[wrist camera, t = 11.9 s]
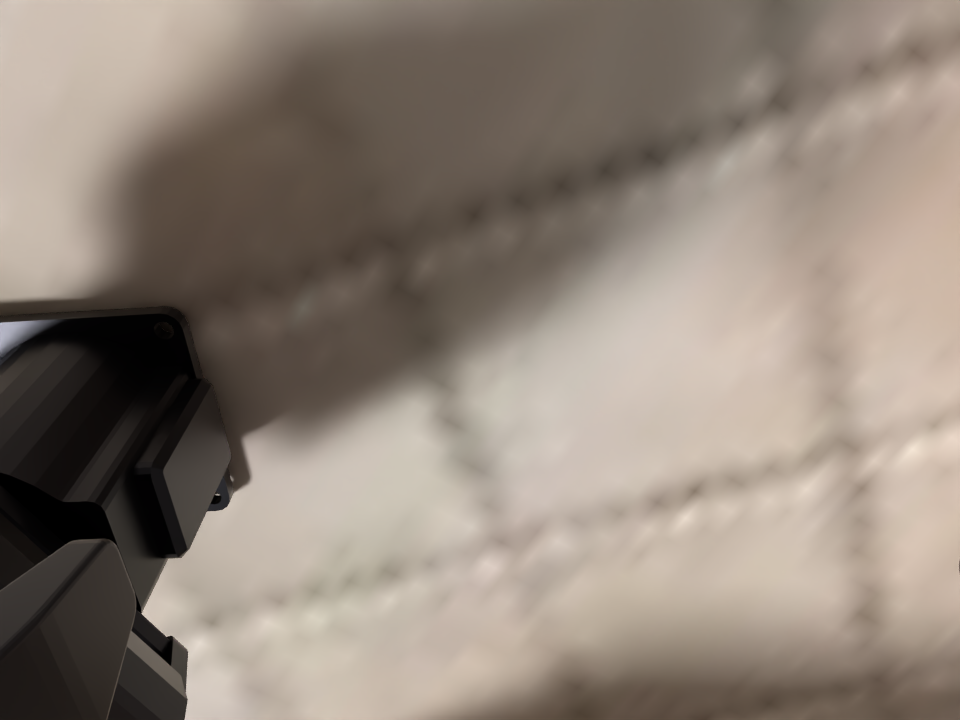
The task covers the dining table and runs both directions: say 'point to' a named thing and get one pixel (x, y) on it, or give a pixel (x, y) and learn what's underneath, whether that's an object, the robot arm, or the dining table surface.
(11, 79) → the dining table surface
